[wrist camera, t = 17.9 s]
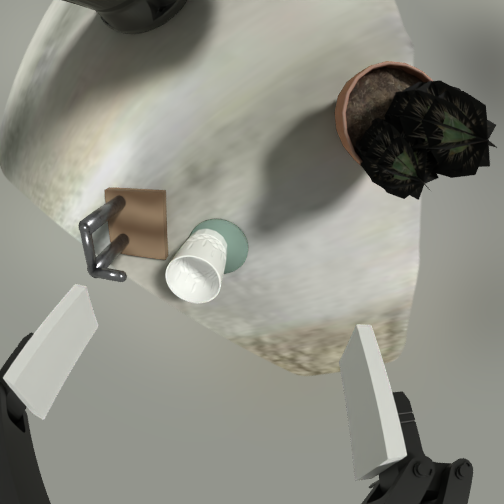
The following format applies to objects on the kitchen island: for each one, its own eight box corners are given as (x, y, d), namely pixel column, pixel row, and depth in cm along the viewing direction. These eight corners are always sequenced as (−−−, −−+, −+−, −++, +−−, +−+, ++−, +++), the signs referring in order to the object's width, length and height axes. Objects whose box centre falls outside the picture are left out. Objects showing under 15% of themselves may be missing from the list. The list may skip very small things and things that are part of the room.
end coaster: (189, 215, 44) (188, 217, 44) (250, 222, 44) (250, 223, 43) (189, 268, 49) (189, 269, 49) (245, 275, 49) (245, 277, 48)
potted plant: (321, 67, 32) (388, 14, 10) (408, 84, 31) (529, 82, 9) (318, 157, 38) (374, 224, 16) (401, 167, 37) (507, 238, 15)
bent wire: (113, 195, 42) (74, 221, 32) (150, 197, 41) (115, 226, 32) (118, 244, 46) (86, 279, 36) (153, 249, 46) (125, 287, 36)
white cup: (205, 274, 49) (191, 311, 40) (175, 240, 46) (154, 273, 37) (240, 252, 46) (232, 288, 37) (210, 215, 43) (194, 245, 35)
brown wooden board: (108, 187, 43) (104, 190, 41) (165, 190, 42) (162, 193, 41) (115, 248, 48) (112, 252, 47) (168, 255, 48) (165, 259, 47)
